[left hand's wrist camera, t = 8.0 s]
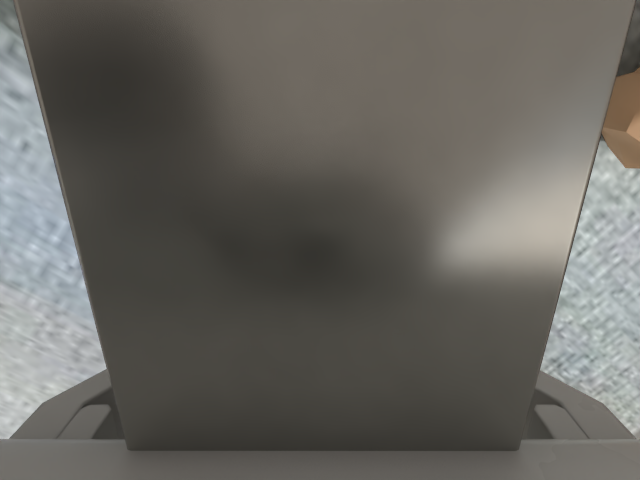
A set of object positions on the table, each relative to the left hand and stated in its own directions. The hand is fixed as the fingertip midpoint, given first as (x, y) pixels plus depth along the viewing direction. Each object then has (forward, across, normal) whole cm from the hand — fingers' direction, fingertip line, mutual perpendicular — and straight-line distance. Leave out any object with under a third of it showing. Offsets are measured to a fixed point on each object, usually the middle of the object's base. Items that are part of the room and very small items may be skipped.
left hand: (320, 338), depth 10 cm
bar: (+4, 0, -9) cm, 10 cm away
